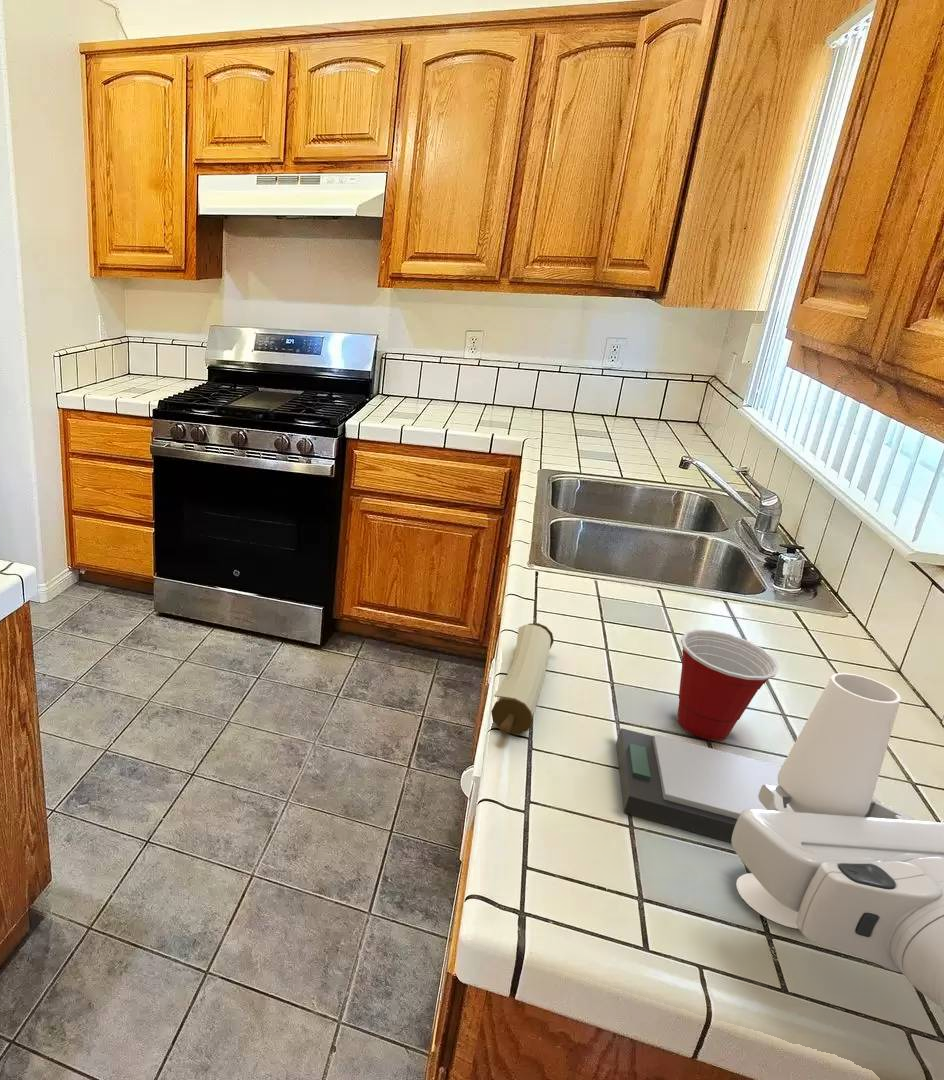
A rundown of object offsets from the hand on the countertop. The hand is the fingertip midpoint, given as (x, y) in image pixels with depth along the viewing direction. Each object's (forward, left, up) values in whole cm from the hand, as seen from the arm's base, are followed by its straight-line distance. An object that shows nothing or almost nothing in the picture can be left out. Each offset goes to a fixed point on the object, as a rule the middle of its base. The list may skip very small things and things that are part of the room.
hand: (811, 794), depth 70 cm
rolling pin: (+25, -28, -12) cm, 40 cm away
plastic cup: (+2, -29, -12) cm, 32 cm away
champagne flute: (0, +1, -12) cm, 12 cm away
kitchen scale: (+4, -13, -12) cm, 18 cm away
